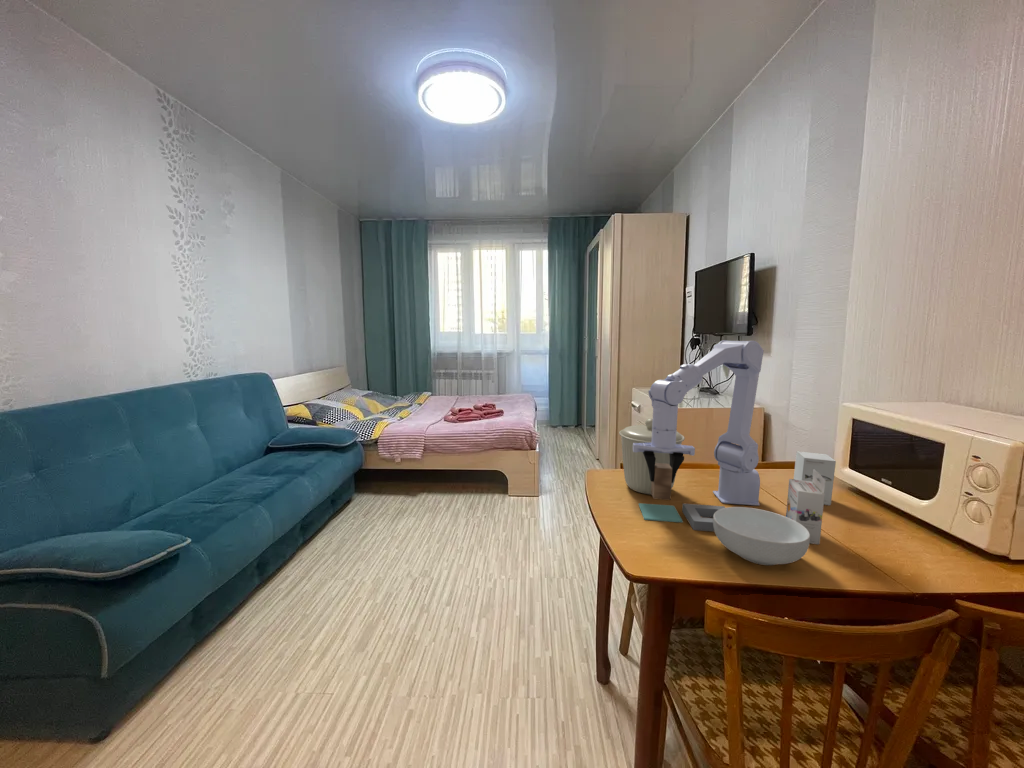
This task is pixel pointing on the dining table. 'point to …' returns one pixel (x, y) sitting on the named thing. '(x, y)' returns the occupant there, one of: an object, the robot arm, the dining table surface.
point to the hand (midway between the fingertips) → (661, 480)
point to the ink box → (807, 504)
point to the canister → (641, 456)
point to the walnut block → (662, 481)
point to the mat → (660, 512)
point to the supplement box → (821, 465)
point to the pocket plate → (700, 516)
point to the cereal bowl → (761, 535)
